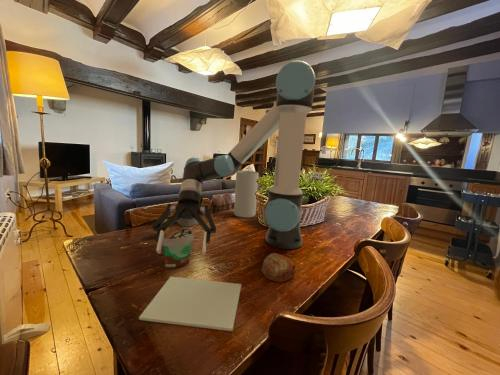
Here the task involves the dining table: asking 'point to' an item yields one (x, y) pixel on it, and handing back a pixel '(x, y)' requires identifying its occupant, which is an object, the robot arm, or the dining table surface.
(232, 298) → the mat
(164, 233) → the lemon
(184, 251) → the food container
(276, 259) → the bread roll
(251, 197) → the cylinder vase
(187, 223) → the coffeepot
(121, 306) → the dining table surface
